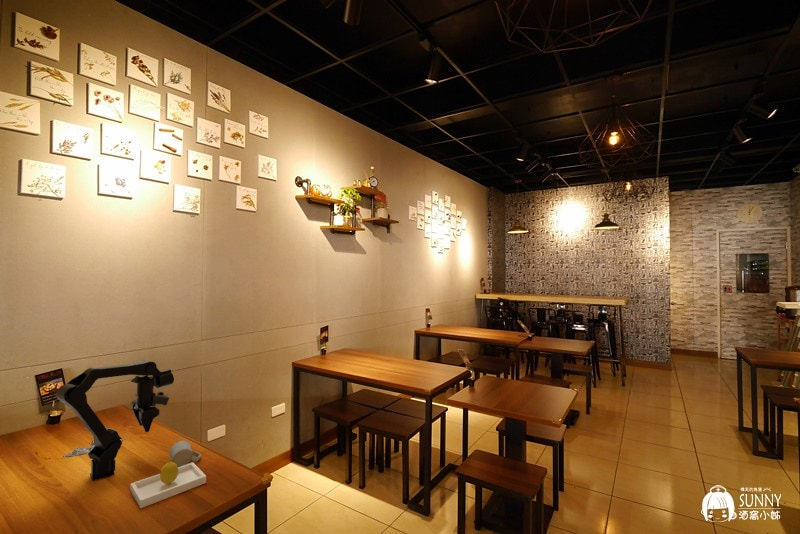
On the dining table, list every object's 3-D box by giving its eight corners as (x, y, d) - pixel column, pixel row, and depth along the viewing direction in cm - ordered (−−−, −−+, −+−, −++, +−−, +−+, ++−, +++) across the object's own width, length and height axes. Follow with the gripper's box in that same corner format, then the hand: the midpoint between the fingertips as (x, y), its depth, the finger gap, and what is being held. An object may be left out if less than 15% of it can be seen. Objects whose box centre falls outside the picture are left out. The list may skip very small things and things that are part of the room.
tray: (140, 508, 118) (140, 500, 118) (130, 490, 127) (130, 483, 127) (206, 482, 132) (206, 475, 132) (192, 468, 142) (192, 462, 142)
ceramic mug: (172, 471, 140) (173, 450, 140) (169, 462, 146) (169, 443, 147) (202, 462, 147) (203, 443, 147) (198, 454, 153) (199, 436, 154)
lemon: (165, 480, 132) (165, 458, 133) (181, 479, 133) (181, 457, 133) (156, 489, 127) (156, 466, 127) (172, 488, 127) (173, 465, 128)
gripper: (174, 391, 150) (173, 429, 150) (161, 382, 163) (160, 417, 162) (142, 398, 142) (141, 438, 142) (131, 387, 155) (130, 424, 154)
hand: (144, 428), depth 150 cm, fingers open, 9 cm apart
